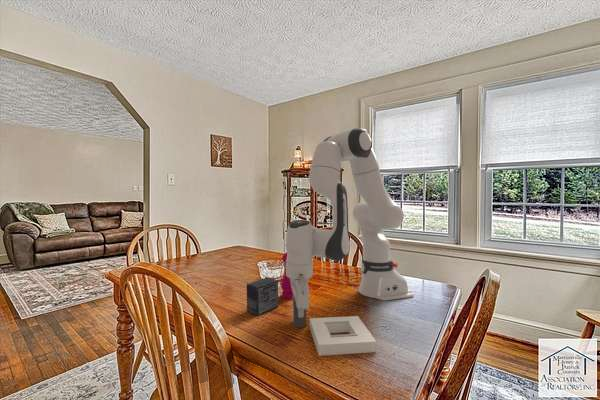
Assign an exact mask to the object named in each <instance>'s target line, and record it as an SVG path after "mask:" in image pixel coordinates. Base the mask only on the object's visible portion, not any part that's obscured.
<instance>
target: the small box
mask: <svg viewBox="0 0 600 400" xmlns="http://www.w3.org/2000/svg"><path fill="white" fill-rule="evenodd" d="M278 282H279V280H278V279H275V278H271V277H264V278H261V279H258V280H254V281H252V282H248V283H246V312H247V313H249V314H251V315H254V316H257V317H259V316H263V315H264V314H266V313H268V312H270V311H273V310H275V309H277V308H279V289H278V288H279V286H278V285H279V283H278Z"/></svg>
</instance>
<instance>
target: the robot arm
mask: <svg viewBox="0 0 600 400" xmlns="http://www.w3.org/2000/svg"><path fill="white" fill-rule="evenodd" d="M347 161H349V163H350V169H351V173H352V177H353V181H354V185H355V189H356V192H357V194H358V195H359V196H361V197H362V199H363V200H364V201H361V202H358V203H357V204H356V205H355V206H354V207H353V210H352V217H353V219H354V221H355V222H356V223H357V225H358V228H359V230H360V234H361V239H362V259H361V266H360V267H361V279H360V283H359V284H360V285H359V287H358V293H359V294H360V295H362V296H364V297H366V298H367V297H368V298H373V299H377V300H380V301H390V300H391V301H392V300H398V299H406V298H412V297H414V292H413V290H412V289H410V288H409V286H408V282H407V279H406V278H405V277H404V276H403V275H401V273H399V271H397V270H396V268H398V267H399V264H398V263H397V262H395V261H393V260H391V259H390V252H391V251H390V249H391V248H390V247H391V244H390V240H389V238H387V237H386V235H385V233H384V230H394V229H395V230H397V229H398V228H400V226H401V225H402V224H403V221H404V218H405V216H404V215H405V214H404V211H403V209H402V207H400V206H399V205H398V204H397V203H396V202H395V201H394V200H393V198H392V197H391V195H390V194H389V192H388V190H387V189H386V187H385V185H384V181H383V177H382V174H381V170H380V166H379V162H378V158H377V156H376V154H375V152H374V149H373V139H372V136H371V134H370V132H368V130H367V129H365V128H360V127H359V128H353V129H349V130H344V131H341V132H339V133H337V134H334V135H331V136H328V137H326V138H325V139H324V140H322V141H321V142H319V143H318V144H317V145H316V147H315V149H314V153H313V156H312V159H311V164H310V168H309V176H308V183H309V185H310V187H311V189H312V190H313V192H316V193H317V194H319V195H321V196H322V197H324V198H326V199H328V200H329V201H330V203H331V204H332V228H331V229H327V228H326V229H324V228H319V227H315V226H313V225H312V223H311V221H310V220H308V219H299V220H294V221H291V222H290V223H289V224H288V225H287V230H286V237H285V238H286V239H285V250H286V252H287V258H286V276H287V277H288V278H290V282H291V288H292V291H293V295H294V298H295V302H296V306H297V309H298V317H299V318H300V317H304V309H306V310H308V309H309V308H310V289H309V283H308V282H309V281H310V278H312V277H313V276H314V259H313V256H314V257H317V258H325V259H328V260H330V261H334V262H340V261H342V260H343V259H344V258H346V257H347V256H348V255H349V253H350V251H351V240H350V239H351V238H350V234H349V207H348V206H349V205H348V194H347V192H348V191H347V188H346V187H345V184H343V183H342V181H341V170H342V162H347ZM394 268H395V269H394Z"/></svg>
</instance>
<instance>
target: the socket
mask: <svg viewBox="0 0 600 400" xmlns="http://www.w3.org/2000/svg"><path fill="white" fill-rule="evenodd" d="M309 330H310V333H311V335H312V340H313V342H314V345H315V349H316V352H317V354H318V355H317V356H319V357H321V356H337V355H338V356H339V355H353V354H366V353H367V354H368V353H377V340H376V339H375V337H374V336H373V335H372V333H371V332H370V331H369V329H368V328H367V327H366V324H364V322H363V320H361V318H360V317H359V316H358V315H353V316H352V315H351V316H334V317H331V316H330V317H313V318H312V317H311V318H309ZM336 333H338V334H336ZM340 333H343V334H340Z"/></svg>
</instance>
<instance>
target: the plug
mask: <svg viewBox="0 0 600 400" xmlns="http://www.w3.org/2000/svg"><path fill="white" fill-rule="evenodd" d="M292 325H293V327H294V328H301V327H305V328H306V327H307V309H304V317H300V318H299V317H298V309H297V306H296V302H295V298H294V295H293V299H292Z"/></svg>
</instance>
